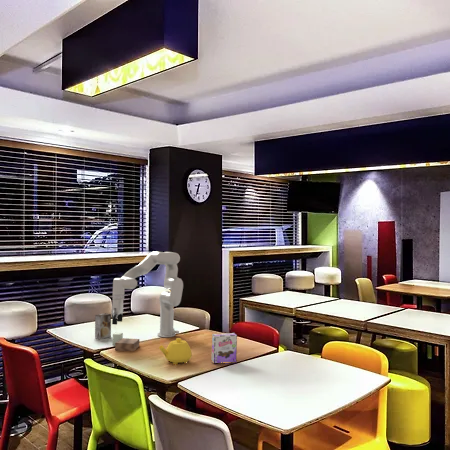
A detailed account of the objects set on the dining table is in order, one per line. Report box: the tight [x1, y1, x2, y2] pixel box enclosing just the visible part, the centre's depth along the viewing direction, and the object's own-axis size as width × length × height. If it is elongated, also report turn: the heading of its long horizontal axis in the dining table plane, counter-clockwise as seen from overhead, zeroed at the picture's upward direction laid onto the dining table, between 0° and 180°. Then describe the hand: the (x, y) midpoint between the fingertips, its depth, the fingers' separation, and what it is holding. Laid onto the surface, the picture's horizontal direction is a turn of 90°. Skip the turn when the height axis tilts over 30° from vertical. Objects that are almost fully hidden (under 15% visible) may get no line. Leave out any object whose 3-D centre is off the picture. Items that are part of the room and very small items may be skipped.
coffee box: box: [94, 312, 112, 340], centre depth 318 cm, size 9×6×16 cm
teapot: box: [158, 337, 193, 365], centre depth 263 cm, size 20×16×14 cm
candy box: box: [210, 332, 238, 363], centre depth 266 cm, size 14×6×16 cm, turn 105°
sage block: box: [112, 331, 124, 346], centre depth 301 cm, size 5×5×7 cm
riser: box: [114, 337, 140, 352], centre depth 291 cm, size 12×12×5 cm
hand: (117, 322), depth 300 cm, fingers open, 9 cm apart
